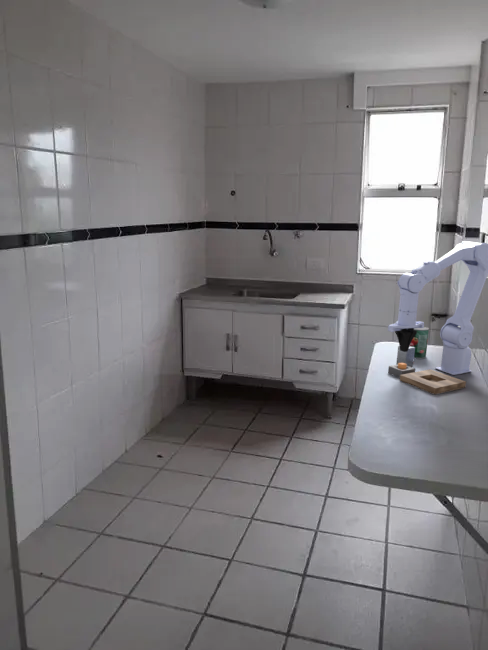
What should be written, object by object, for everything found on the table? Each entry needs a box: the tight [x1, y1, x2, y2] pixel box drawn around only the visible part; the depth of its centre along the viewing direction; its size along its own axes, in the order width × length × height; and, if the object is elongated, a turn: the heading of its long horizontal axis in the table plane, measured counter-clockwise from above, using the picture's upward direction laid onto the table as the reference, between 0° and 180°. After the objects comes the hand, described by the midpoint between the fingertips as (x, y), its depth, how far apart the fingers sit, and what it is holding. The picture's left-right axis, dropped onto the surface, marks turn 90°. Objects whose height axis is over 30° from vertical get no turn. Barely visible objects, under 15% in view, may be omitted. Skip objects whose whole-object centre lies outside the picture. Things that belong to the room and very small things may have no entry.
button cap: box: [398, 363, 407, 369], centre depth 183 cm, size 3×3×2 cm
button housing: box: [387, 364, 416, 378], centre depth 183 cm, size 6×6×2 cm
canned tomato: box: [410, 325, 430, 360], centre depth 206 cm, size 8×8×11 cm
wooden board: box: [399, 369, 467, 395], centre depth 174 cm, size 14×14×2 cm
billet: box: [395, 345, 415, 368], centre depth 192 cm, size 4×4×7 cm
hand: (403, 350), depth 182 cm, fingers closed
